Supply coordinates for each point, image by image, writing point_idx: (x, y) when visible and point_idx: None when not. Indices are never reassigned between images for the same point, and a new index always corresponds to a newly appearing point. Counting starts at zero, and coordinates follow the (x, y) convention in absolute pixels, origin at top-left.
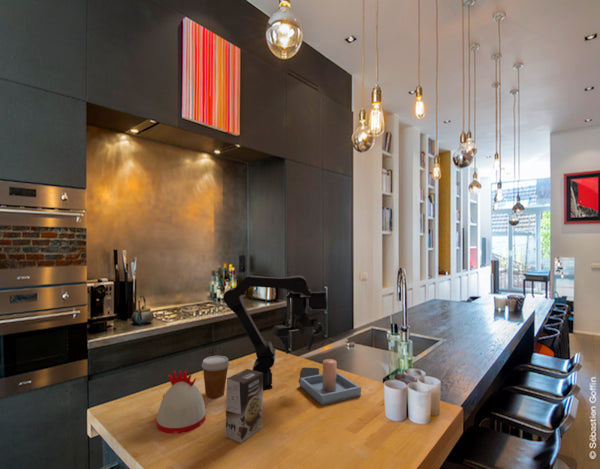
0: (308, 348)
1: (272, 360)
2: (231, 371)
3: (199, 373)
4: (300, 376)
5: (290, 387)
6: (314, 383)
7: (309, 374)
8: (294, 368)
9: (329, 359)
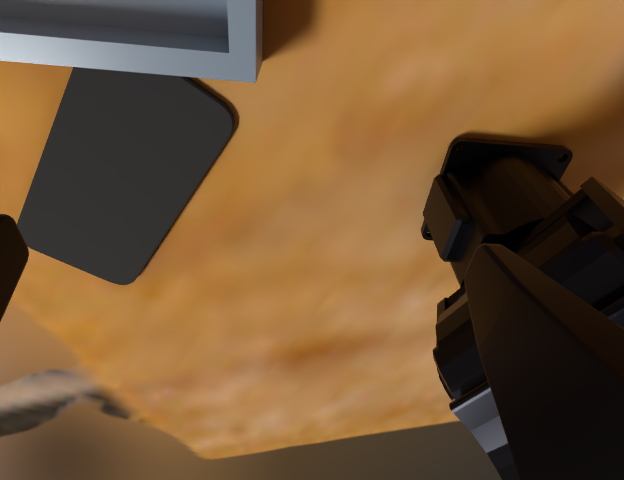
0: (2, 254)
1: (622, 248)
2: None
3: None
4: (190, 193)
5: (337, 83)
6: (128, 18)
7: (113, 190)
8: (177, 300)
9: None
